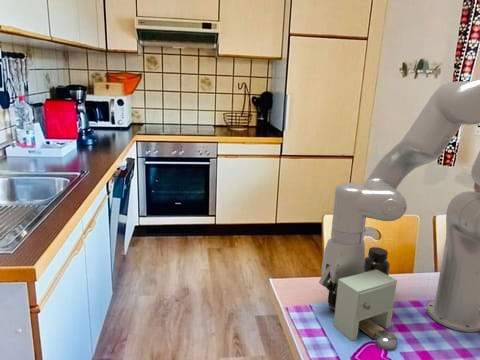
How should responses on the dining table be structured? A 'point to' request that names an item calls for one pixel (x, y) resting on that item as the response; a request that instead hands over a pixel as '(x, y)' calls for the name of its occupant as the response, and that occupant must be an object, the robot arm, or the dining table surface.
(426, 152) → the robot arm
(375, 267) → the supplement bottle
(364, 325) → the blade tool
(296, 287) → the dining table surface
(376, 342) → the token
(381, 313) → the cabinet
